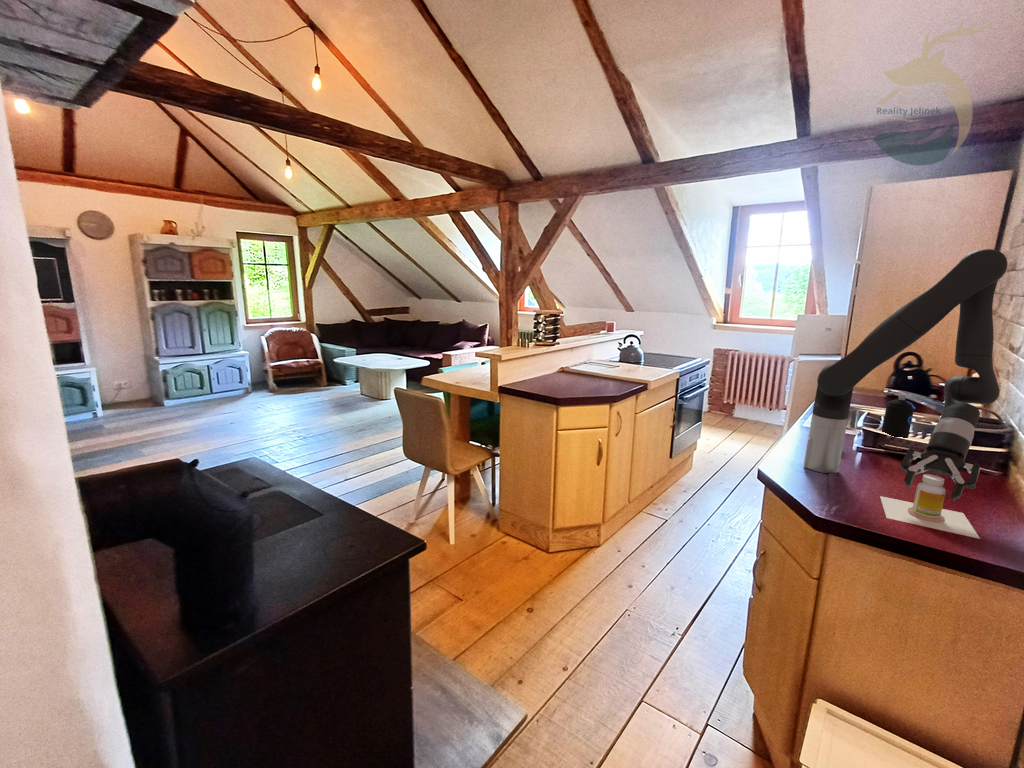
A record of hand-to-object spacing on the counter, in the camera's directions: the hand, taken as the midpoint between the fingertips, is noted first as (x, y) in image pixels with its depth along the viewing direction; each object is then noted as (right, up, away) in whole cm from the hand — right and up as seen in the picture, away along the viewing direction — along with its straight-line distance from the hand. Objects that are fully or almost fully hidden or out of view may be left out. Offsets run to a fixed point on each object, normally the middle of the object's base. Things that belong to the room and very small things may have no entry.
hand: (929, 492), depth 117 cm
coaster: (+1, -6, +2) cm, 7 cm away
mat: (+1, -7, +2) cm, 7 cm away
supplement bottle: (+1, -6, +2) cm, 7 cm away
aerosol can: (+35, +3, +55) cm, 66 cm away
